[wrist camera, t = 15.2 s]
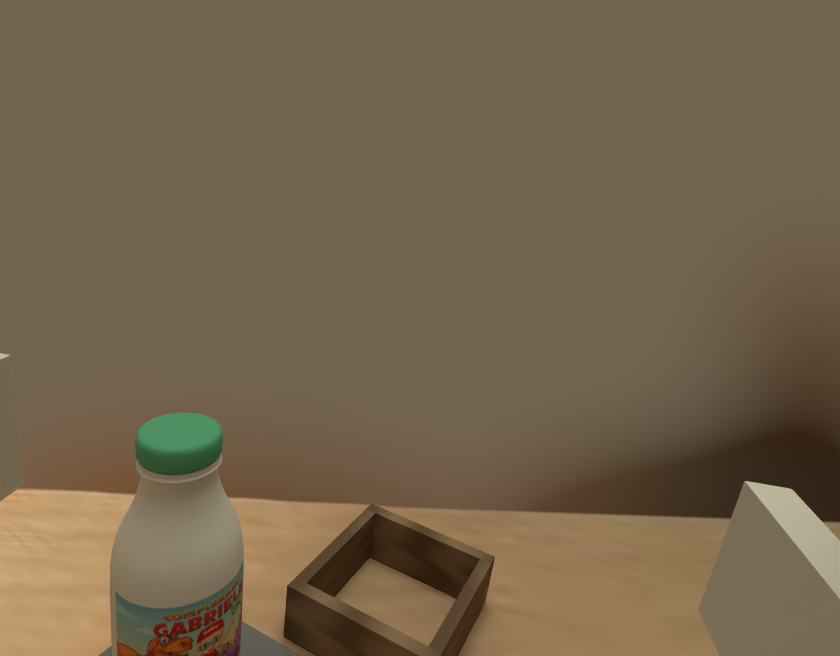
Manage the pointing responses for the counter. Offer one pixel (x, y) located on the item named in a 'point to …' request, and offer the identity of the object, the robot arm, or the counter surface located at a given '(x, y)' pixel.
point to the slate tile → (251, 644)
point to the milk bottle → (178, 548)
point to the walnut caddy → (402, 550)
